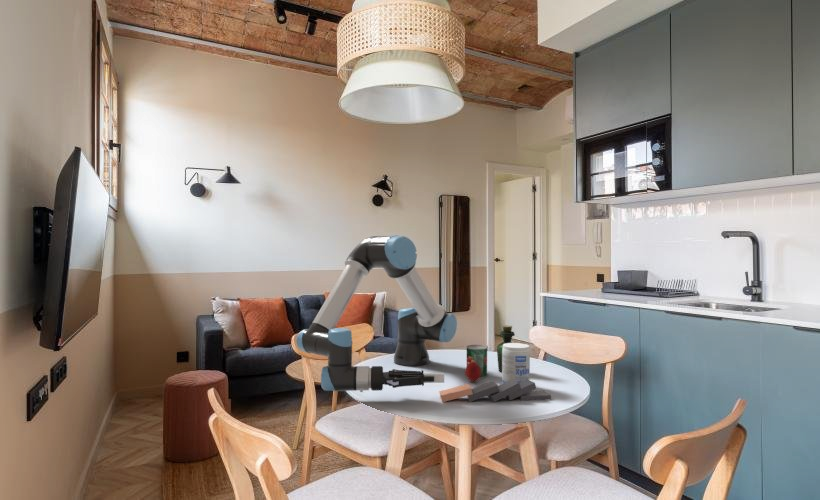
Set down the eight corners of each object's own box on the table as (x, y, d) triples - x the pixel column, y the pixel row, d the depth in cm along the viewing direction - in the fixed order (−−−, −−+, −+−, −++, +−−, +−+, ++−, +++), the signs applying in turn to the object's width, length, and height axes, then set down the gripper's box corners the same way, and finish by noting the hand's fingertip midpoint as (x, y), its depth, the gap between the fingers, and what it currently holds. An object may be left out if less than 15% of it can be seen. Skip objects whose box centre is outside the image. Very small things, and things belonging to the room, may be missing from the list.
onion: (479, 380, 172) (480, 358, 172) (482, 384, 167) (482, 362, 167) (464, 379, 172) (464, 358, 172) (466, 384, 167) (466, 362, 167)
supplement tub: (519, 392, 157) (520, 349, 157) (496, 386, 164) (496, 345, 164) (534, 386, 164) (535, 345, 164) (511, 381, 171) (512, 341, 171)
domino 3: (508, 394, 149) (534, 382, 151) (501, 390, 153) (526, 379, 156) (510, 400, 149) (536, 388, 151) (502, 396, 153) (528, 384, 156)
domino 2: (491, 396, 147) (518, 382, 149) (485, 392, 152) (512, 378, 154) (494, 402, 147) (521, 388, 149) (488, 397, 152) (514, 384, 154)
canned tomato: (491, 376, 177) (491, 347, 177) (475, 379, 173) (475, 349, 173) (478, 371, 184) (478, 343, 184) (462, 374, 180) (462, 346, 180)
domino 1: (467, 396, 148) (497, 385, 148) (465, 391, 153) (493, 380, 153) (469, 401, 148) (499, 391, 148) (467, 396, 153) (495, 386, 153)
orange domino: (440, 396, 147) (471, 388, 148) (439, 391, 152) (468, 383, 153) (442, 402, 147) (472, 394, 148) (440, 397, 152) (470, 389, 153)
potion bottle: (499, 374, 180) (500, 328, 180) (494, 369, 188) (494, 324, 188) (520, 374, 181) (520, 327, 180) (513, 368, 189) (514, 324, 189)
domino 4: (521, 396, 149) (550, 395, 151) (515, 391, 154) (544, 390, 156) (521, 402, 149) (550, 401, 151) (515, 397, 154) (544, 396, 156)
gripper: (371, 384, 155) (441, 383, 156) (369, 396, 142) (446, 395, 143) (371, 361, 155) (441, 361, 156) (369, 372, 142) (446, 371, 143)
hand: (444, 377), depth 150 cm, fingers closed
